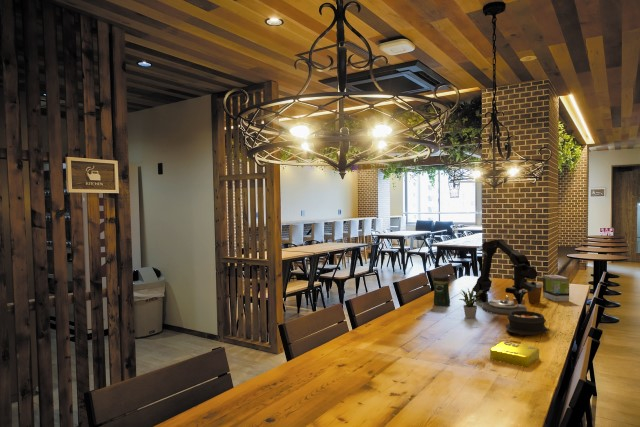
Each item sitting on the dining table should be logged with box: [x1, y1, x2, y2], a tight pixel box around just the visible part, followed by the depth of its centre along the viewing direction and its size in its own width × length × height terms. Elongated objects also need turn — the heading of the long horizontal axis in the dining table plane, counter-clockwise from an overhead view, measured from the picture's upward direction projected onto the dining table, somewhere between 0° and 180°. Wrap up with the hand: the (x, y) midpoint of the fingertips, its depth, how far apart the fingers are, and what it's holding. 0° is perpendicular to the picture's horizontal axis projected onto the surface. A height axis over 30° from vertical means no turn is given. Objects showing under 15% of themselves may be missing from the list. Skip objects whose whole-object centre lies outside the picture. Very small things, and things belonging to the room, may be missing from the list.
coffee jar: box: [432, 274, 451, 307], centre depth 272 cm, size 10×8×19 cm
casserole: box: [505, 310, 549, 336], centre depth 211 cm, size 25×19×8 cm
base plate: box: [481, 301, 528, 316], centre depth 256 cm, size 24×24×2 cm
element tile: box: [489, 340, 540, 368], centre depth 175 cm, size 15×15×5 cm
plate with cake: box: [489, 297, 526, 309], centre depth 256 cm, size 19×16×5 cm
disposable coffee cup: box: [526, 281, 543, 304], centre depth 274 cm, size 10×10×12 cm
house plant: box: [458, 288, 483, 319], centre depth 239 cm, size 14×14×16 cm
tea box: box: [542, 274, 570, 302], centre depth 282 cm, size 15×10×15 cm
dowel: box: [504, 294, 510, 301], centre depth 264 cm, size 2×2×4 cm
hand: (519, 304), depth 248 cm, fingers closed
